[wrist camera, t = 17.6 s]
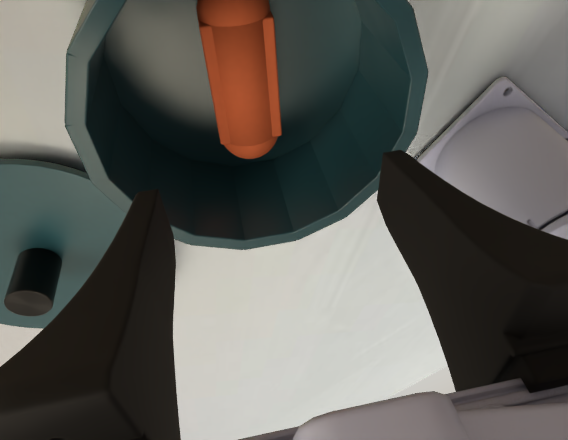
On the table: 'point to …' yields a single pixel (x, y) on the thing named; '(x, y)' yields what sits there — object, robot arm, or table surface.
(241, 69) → the hot dog
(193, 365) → the table surface
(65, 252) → the pot lid
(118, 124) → the pot
